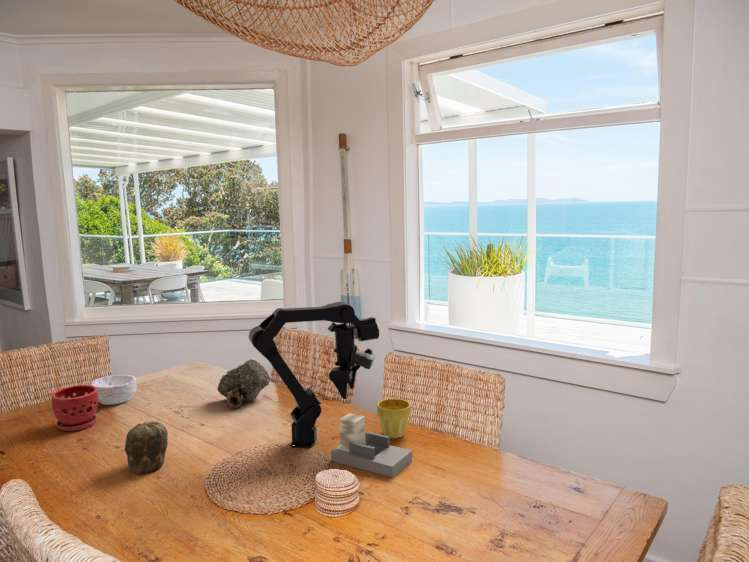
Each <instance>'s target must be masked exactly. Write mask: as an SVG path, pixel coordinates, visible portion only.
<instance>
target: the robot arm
mask: <svg viewBox="0 0 749 562" xmlns="http://www.w3.org/2000/svg"><path fill="white" fill-rule="evenodd" d="M376 320H377V319H376V317H374V316H371V317H367V318H358V316H357V315H356V312H355V309H354V307H353V306H352V305H351V304H349V303H346V302H344V301H336V302H331V303H328V304H325V305H322V306H308V307H289V308H288V307H287V308H286V307H285V308H283V307H278V308H276V309H275V310H273V312H272V313H271V314H270V315H269V316H268V317H266V318H265V319H264V320H263V321H261V322H260V323H259V325H257V326H254V327H253V328H251V330H249V333H248V340H249V342H250V344H252V346H253V348H254V349H256V350H257V352H259V354H261V355H262V356H263V357H264V358H265V359H267V361H268V362H269V363H270V365H271V366H272V368H273V369H274V371H275V372H276V373H277V375H278V377H279V378H280V379H281V381H282V382H283V383H284V385H285V386H286V387H287V389H288V391H289V392H290V394H291V395H292V398H293V401H294V404H295V405H296V406H295V407H294V408H293V409H292V410H291V412H290V414H289V415H290V416H291V419H292V420H293V422H292V423H291V442H290V444H289V446H290V445H295V446H299V447H298V448H312V447H313V446H314V444H315V443H316V441H317V440H318V436H317V434H318V433H317V426H315V425H316V423H317V419H318V418H320V416H321V413H322V407H321V405H322V402H321V401H320V399H318V398H317V396H316V394H315V392H314V391H313V390H312V389H311V388H310V387H308V388H307V389H305V388H304V387H303V386H302V384H301V383H300V382H299V380H298V379H297V377H296V376H295V374H294V373H293V371H292V370H291V368H290V367H289V366H288V364H287V362H286V361H285V360H284V358H283V357H282V355H281V354H280V352H279V350H278V348H277V344H276V342H275V340H274V339H275V338H276V337H277V335H278V334H279V333H280V331H281V330H282V328H283V327H284V326H285V325H286V324H289V323H302V322H304V323H305V322H320V321H321V322H322V321H323V322H324V321H325V322H331V324H330V325H329V326H328V327H327V330H328V331H329V332H330V333H334V338H335V339H334V340H335V348H334V349H333V353H336V357H335V358H336V360H335V362H334V365H335V366H334V367H333V368H332V369H331V371H329V373H328V379H329V381H331V383H332V384H333V385H334V386H335V388H336V389H337V391H338V394H339V395H340V397H341V398H342V400H347V399H348V387H349V388H350V389H354V388H355V385H356V377H357V372H358V370H359V369H360V368H361V367H362V368H364V369H366V370H370V369H371V368H372V366H373V364H374V360H375V354H374V353H373V349H372V348H369V347H367V348H366V349H365V350H358V345H357V344H355V343H356V342H355V340H358V342H366V341H373V340H377V339H379V338H380V329H379V327H378V324H377V321H376ZM337 323H338V324H337ZM347 324H349V325H347Z"/></svg>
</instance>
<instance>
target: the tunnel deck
mask: <svg viewBox="0 0 749 562" xmlns="http://www.w3.org/2000/svg"><path fill="white" fill-rule="evenodd" d="M390 439H391V438H390V437H389V436H385V435H383V434H380V433H375V432H371V431H365V444H364V445H363V444H359V443H355V442H350V443H349V449H348V448H344V447H340V444H338V446H336V447H334V448H332V449H331V450H330V460H332V461H331V462H334V463H337V464H338V463H339V464H341V465H345V466H349V467H352V468H356V469H359V470H363V471H367V472H371V473H375V474H378V475H382V476H386V477H388V478H394V477H396V476H397V475H398V474H400V472H401V471H402V470H403V469H405V468H406V467H407V466H408V465H409V464H411V462H413V450H411V449H407V448H405V447H404V448H403V447H398V446H394V445H390V443H391V442H390Z"/></svg>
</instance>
